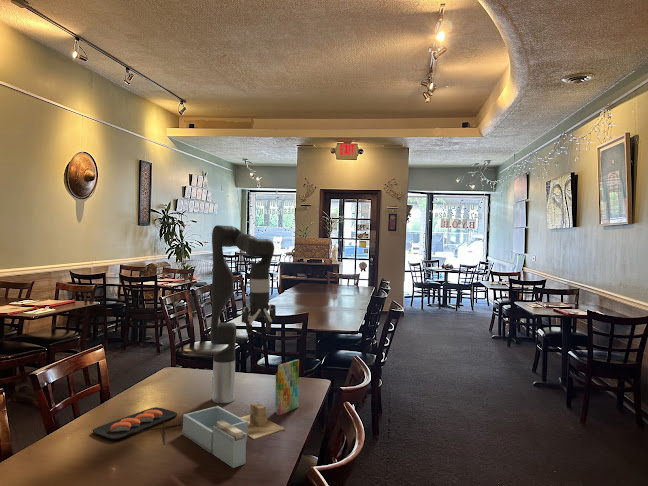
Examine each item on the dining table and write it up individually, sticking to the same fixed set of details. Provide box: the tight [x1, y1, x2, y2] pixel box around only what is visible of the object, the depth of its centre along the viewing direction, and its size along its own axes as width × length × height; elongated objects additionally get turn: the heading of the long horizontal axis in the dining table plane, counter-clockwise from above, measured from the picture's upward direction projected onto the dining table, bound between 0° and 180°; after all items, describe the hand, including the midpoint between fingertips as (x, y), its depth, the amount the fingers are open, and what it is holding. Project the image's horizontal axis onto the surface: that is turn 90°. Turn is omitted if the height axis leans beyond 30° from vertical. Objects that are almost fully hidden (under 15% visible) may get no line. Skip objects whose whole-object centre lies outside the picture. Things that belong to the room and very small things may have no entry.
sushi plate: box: [92, 406, 183, 446], centre depth 171 cm, size 29×30×4 cm
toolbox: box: [182, 405, 248, 469], centre depth 160 cm, size 33×14×9 cm, turn 43°
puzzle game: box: [274, 359, 300, 416], centre depth 193 cm, size 12×5×20 cm, turn 144°
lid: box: [239, 402, 286, 440], centre depth 176 cm, size 20×14×8 cm
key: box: [216, 420, 243, 440], centre depth 149 cm, size 12×2×2 cm, turn 43°
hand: (258, 332), depth 180 cm, fingers open, 8 cm apart
